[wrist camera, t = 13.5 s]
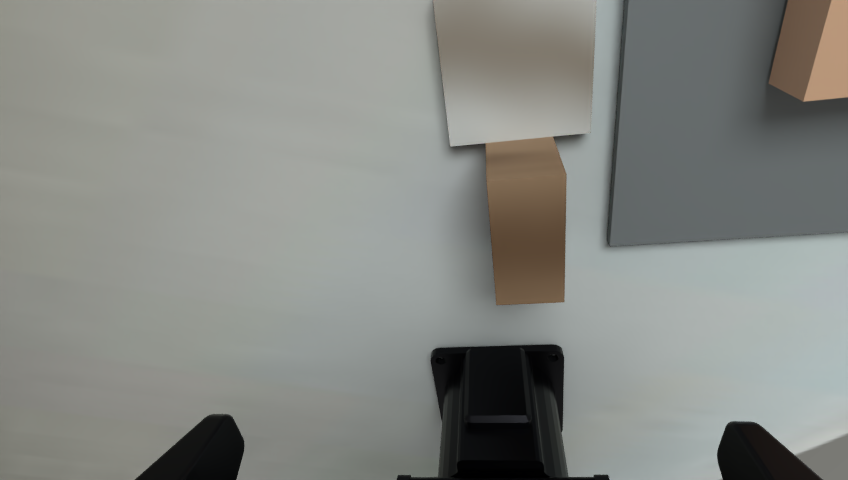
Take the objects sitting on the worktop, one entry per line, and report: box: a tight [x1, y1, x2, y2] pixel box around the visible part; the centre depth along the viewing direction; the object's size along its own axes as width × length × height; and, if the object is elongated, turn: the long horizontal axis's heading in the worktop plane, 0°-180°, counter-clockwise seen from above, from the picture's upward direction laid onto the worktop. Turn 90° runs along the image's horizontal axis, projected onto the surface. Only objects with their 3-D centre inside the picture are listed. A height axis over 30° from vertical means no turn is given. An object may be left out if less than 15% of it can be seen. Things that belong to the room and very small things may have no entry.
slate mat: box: [607, 0, 848, 246], centre depth 15 cm, size 16×12×1 cm
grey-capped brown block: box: [433, 0, 596, 305], centre depth 16 cm, size 10×5×4 cm, turn 8°
